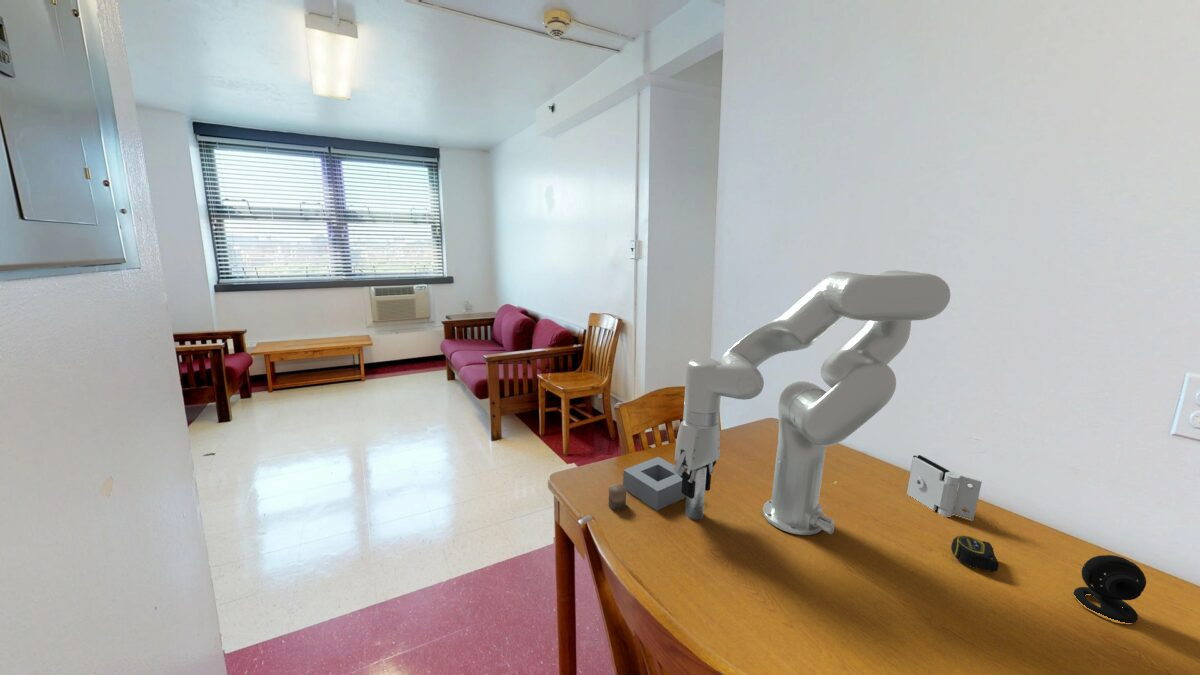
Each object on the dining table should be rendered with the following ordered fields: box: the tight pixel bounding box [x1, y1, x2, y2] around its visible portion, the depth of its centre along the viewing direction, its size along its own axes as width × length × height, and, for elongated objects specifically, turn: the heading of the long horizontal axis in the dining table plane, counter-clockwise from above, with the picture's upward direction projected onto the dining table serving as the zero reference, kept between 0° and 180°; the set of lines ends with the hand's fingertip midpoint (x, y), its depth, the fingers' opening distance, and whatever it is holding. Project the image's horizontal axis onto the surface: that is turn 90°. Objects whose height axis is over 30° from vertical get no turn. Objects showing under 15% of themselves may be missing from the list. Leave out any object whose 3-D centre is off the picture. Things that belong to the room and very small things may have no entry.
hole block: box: [622, 456, 686, 511], centre depth 111 cm, size 12×12×5 cm
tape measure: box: [950, 535, 1000, 573], centre depth 89 cm, size 7×7×4 cm
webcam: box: [1073, 554, 1147, 624], centre depth 77 cm, size 8×8×10 cm
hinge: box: [906, 454, 983, 521], centre depth 106 cm, size 14×5×10 cm, turn 23°
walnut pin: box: [608, 483, 627, 512], centre depth 105 cm, size 4×4×4 cm
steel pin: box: [684, 465, 707, 521], centre depth 101 cm, size 4×4×12 cm
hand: (695, 491), depth 101 cm, fingers open, 4 cm apart
